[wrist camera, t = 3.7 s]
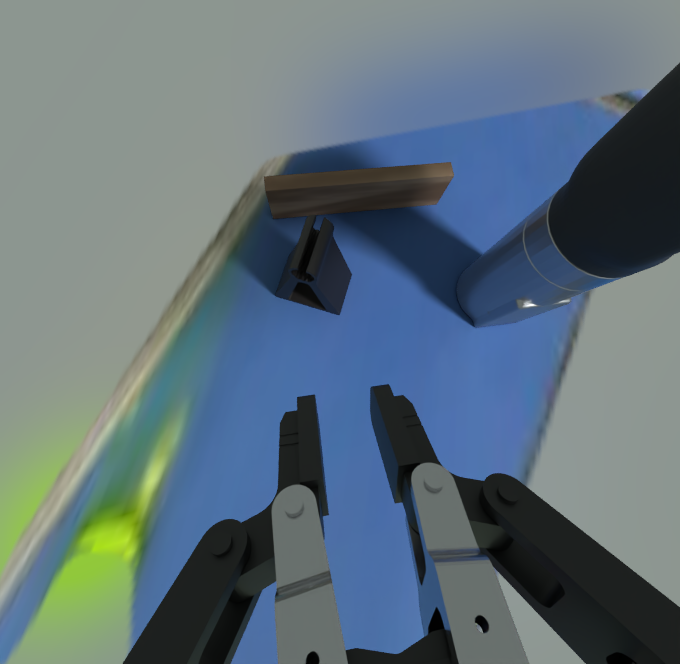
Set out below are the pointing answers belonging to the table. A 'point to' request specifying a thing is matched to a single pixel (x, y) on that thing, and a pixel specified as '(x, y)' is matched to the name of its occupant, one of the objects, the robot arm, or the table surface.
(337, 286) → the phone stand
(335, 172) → the board
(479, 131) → the table surface
